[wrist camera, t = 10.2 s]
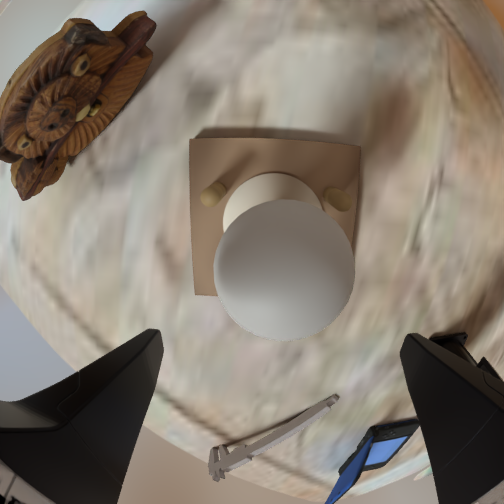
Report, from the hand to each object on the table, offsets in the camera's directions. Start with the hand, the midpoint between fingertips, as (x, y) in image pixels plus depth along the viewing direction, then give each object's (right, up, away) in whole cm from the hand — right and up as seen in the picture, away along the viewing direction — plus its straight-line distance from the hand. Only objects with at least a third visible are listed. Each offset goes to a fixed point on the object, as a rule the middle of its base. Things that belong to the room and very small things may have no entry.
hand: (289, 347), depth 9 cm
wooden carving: (-13, +15, +9) cm, 22 cm away
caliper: (+1, -19, +21) cm, 29 cm away
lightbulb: (0, +5, +11) cm, 12 cm away
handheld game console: (+17, -28, +24) cm, 41 cm away
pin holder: (0, +6, +12) cm, 13 cm away
